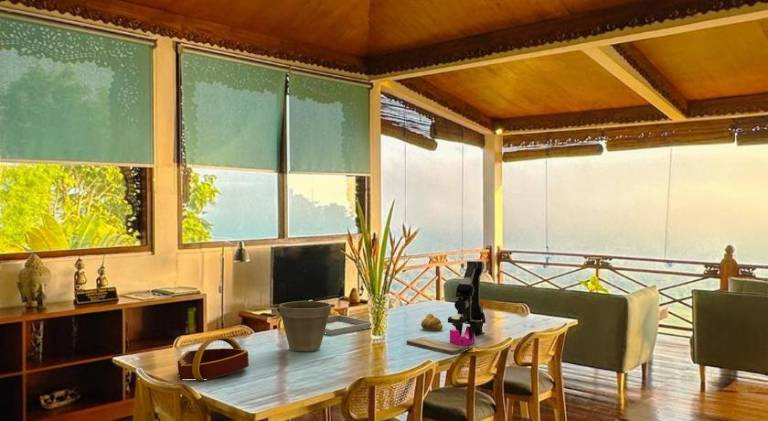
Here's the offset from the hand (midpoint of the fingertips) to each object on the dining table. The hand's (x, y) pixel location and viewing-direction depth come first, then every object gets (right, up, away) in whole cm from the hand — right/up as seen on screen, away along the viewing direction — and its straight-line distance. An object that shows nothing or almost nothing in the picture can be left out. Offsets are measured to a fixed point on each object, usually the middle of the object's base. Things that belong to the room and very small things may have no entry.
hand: (465, 338), depth 320 cm
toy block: (0, -3, 0) cm, 3 cm away
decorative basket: (-111, -4, -52) cm, 122 cm away
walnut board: (-15, -3, -7) cm, 17 cm away
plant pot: (-79, -3, -11) cm, 80 cm away
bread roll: (-14, -2, +35) cm, 37 cm away
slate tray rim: (-68, -2, +40) cm, 79 cm away
